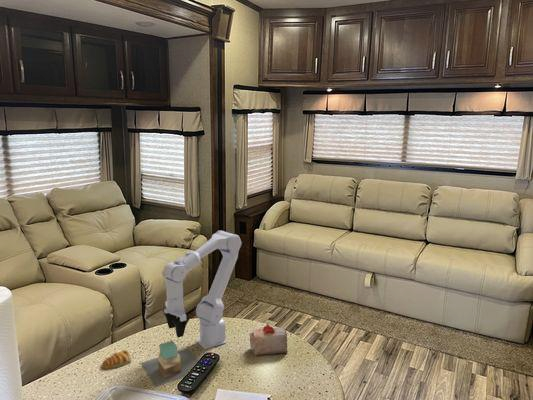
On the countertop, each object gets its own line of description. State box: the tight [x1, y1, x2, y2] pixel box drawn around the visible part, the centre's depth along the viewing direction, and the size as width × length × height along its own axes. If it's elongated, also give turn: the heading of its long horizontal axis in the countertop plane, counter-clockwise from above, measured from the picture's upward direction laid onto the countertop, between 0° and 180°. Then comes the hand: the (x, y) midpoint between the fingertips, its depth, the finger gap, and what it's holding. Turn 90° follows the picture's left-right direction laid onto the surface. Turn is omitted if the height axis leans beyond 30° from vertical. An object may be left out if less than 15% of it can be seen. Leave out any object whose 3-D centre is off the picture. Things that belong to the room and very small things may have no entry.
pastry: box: [101, 349, 132, 370], centre depth 143 cm, size 9×7×4 cm
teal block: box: [159, 340, 179, 360], centre depth 137 cm, size 4×4×4 cm
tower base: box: [158, 361, 181, 378], centre depth 139 cm, size 6×6×3 cm
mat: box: [140, 348, 200, 388], centre depth 142 cm, size 18×16×1 cm
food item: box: [249, 323, 288, 357], centre depth 152 cm, size 14×8×10 cm, turn 102°
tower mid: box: [158, 352, 180, 369], centre depth 138 cm, size 6×6×3 cm
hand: (176, 331), depth 146 cm, fingers open, 7 cm apart
